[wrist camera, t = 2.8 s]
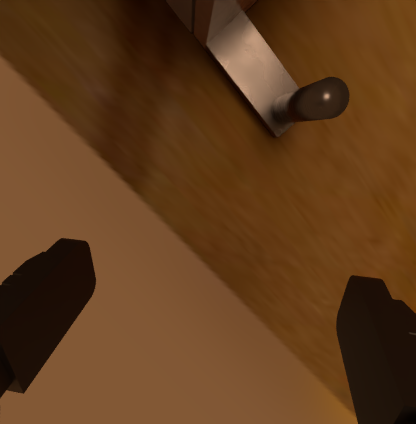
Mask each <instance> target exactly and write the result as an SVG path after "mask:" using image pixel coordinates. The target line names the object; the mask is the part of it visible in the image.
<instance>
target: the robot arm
mask: <svg viewBox="0 0 416 424" xmlns="http://www.w3.org/2000/svg"><path fill="white" fill-rule="evenodd" d="M95 285H96V277H95V272H94V267H93V262H92V257H91V252H90V247H89V245H88V243H87V242H86V241H82V240H74V239H66V238H61V239H59V240H58V241H57V242H56V243H55V244H54V245H53V246H51V247H50V248H49V249H48V250H47V251H46V252H42V253H40V254H38V255H36V256H34V257H32V258H30V259H29V260H27V261H25V262H24V263H23V264H22V265H21V266H20V267H19V268H18V269H16V270H15V271H14V272H13V275H10V276H9V277H8V278H6V279H5V280H4V281H3V282H2V285H0V398H1V396H2V395H3V394H4V393H5V391H6V390H9V391H13V392H18V393H24V392H25V391H26V390H27V388H28V387H29V385H30V384H31V382H32V381H33V380H34V378H35V377H36V375H37V374H38V372H39V371H40V370H41V368H42V367H43V365H44V364H45V362H46V361H47V360H48V358H49V357H50V355H51V354H52V352H53V351H54V350H55V348H56V347H57V345H58V344H59V342H60V341H61V340H62V338H63V337H64V335H65V334H66V332H67V331H68V329H69V328H70V327H71V325H72V324H73V322H74V321H75V319H76V318H77V316H78V315H79V314H80V312H81V311H82V310H83V308H84V307H85V305H86V304H87V302H88V301H89V299H90V298H91V297H92V295H93V292H94V289H95ZM336 329H337V336H338V341H339V345H340V349H341V353H342V358H343V362H344V366H345V370H346V375H347V379H348V383H349V387H350V391H351V396H352V400H353V404H354V408H355V413H356V417H357V421H358V424H416V314H415V313H414V312H413V311H412V310H411V309H410V308H409V307H408V306H407V305H406V304H405V303H404V302H403V301H402V300H394V299H392V297H391V295H390V293H389V291H388V289H387V287H386V285H385V283H384V281H383V280H382V279H378V278H370V277H362V276H354V275H352V276H351V277H350V278H349V280H348V283H347V286H346V289H345V293H344V296H343V299H342V302H341V305H340V308H339V311H338V315H337V322H336Z"/></svg>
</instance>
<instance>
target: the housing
mask: <svg viewBox="0 0 416 424" xmlns="http://www.w3.org/2000/svg"><path fill="white" fill-rule="evenodd" d="M165 1H166V2H167V3H168V4H169V6H170V7H171V8H172V9H173V11H174V12H175V13H176V15H177V16H178V17H179V18H180V20H181V21H182V22H183V24H184V25H185V26H186V27H187V29H188V30H189V31H190V33H192V32H193V31H194V22H195V1H196V0H165Z"/></svg>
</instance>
